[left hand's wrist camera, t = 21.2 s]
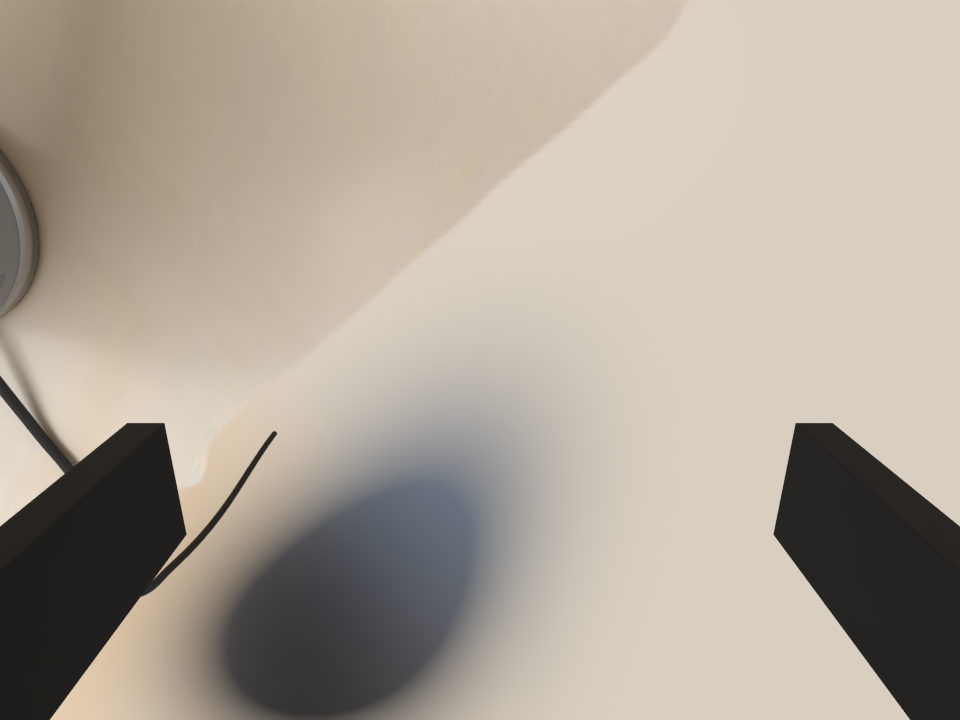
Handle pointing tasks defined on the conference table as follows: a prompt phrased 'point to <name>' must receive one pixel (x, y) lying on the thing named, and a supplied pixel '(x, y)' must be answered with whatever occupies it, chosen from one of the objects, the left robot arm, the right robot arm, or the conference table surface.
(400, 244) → the conference table surface
